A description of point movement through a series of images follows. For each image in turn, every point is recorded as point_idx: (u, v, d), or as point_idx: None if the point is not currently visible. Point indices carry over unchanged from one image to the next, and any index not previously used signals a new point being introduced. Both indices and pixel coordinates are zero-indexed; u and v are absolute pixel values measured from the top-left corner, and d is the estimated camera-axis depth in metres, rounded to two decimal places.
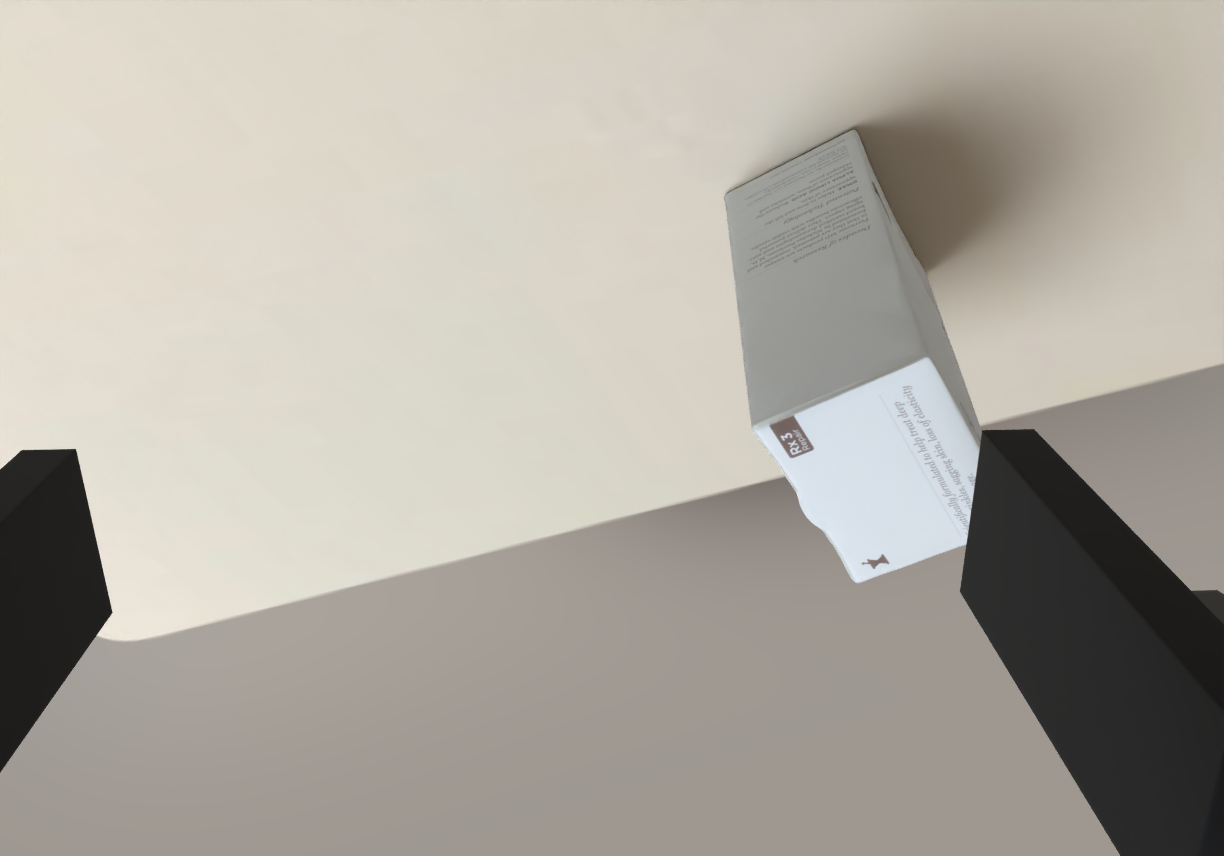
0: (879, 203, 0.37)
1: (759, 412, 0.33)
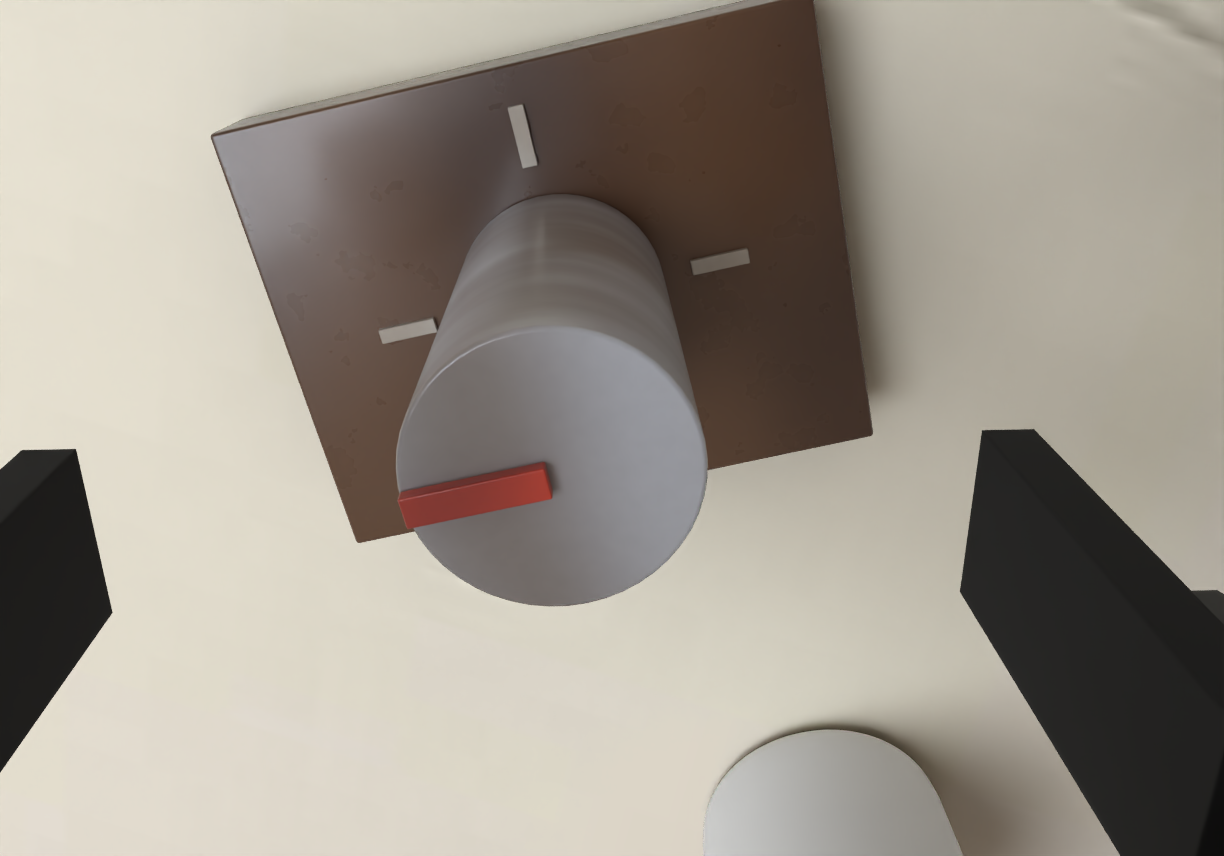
0: None
1: None
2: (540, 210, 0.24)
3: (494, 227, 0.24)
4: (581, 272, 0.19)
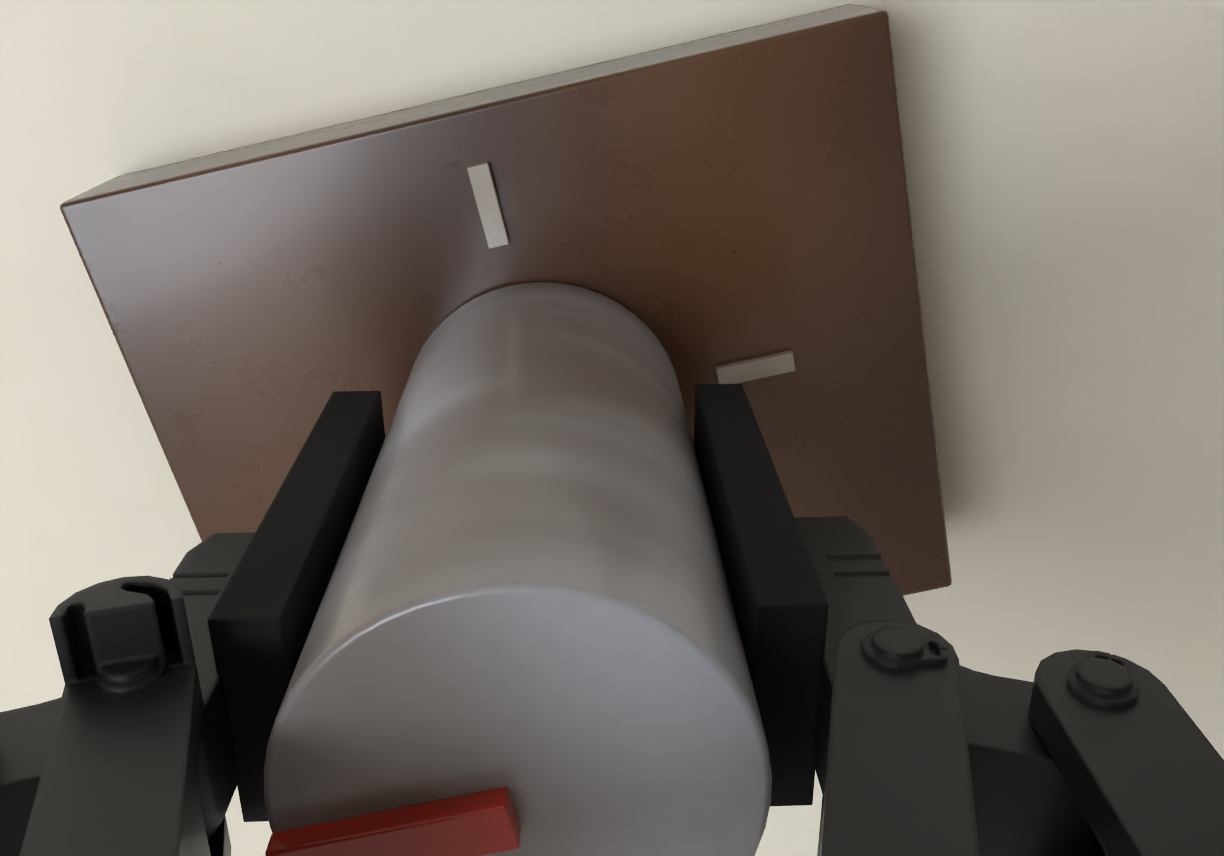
0: None
1: None
2: (511, 312, 0.17)
3: (448, 333, 0.18)
4: (567, 443, 0.13)
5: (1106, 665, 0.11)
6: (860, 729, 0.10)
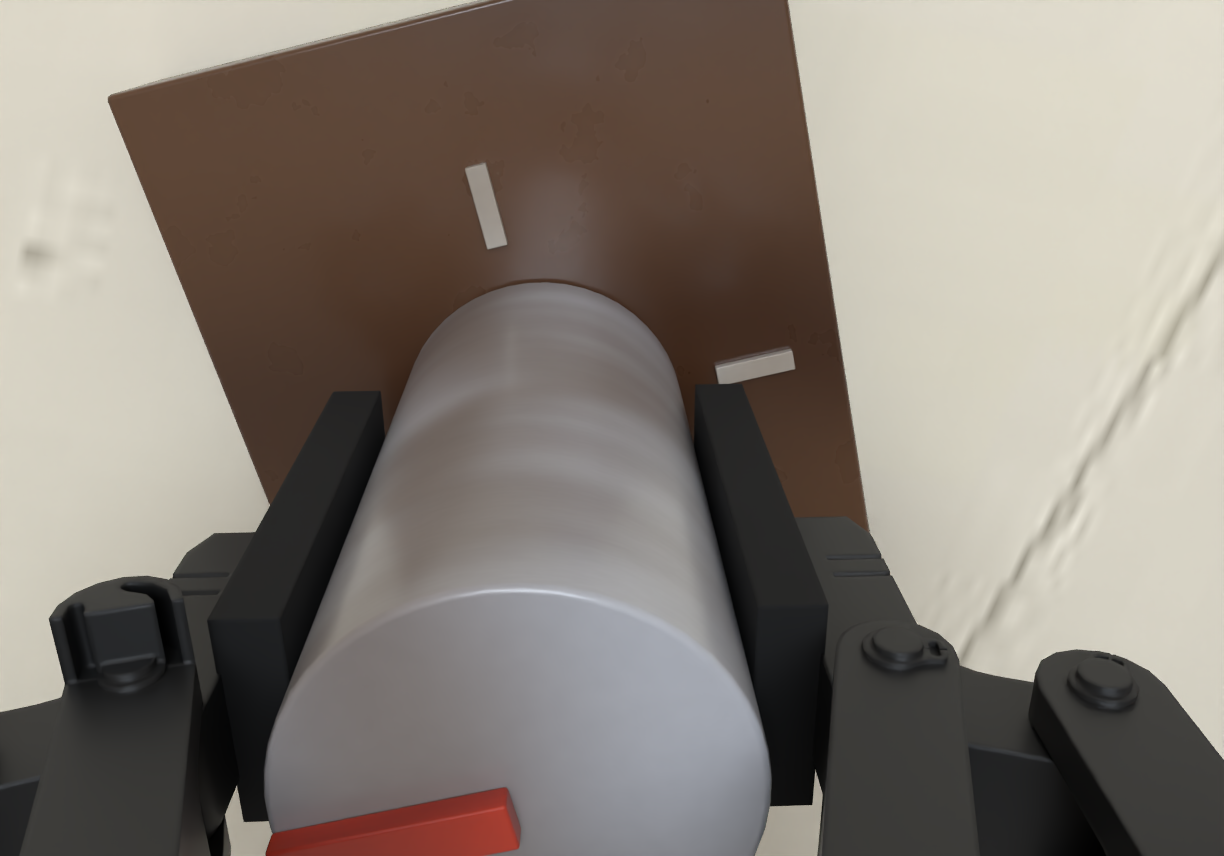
0: None
1: None
2: (511, 312, 0.17)
3: (448, 334, 0.18)
4: (567, 444, 0.13)
5: (1106, 667, 0.11)
6: (860, 729, 0.10)
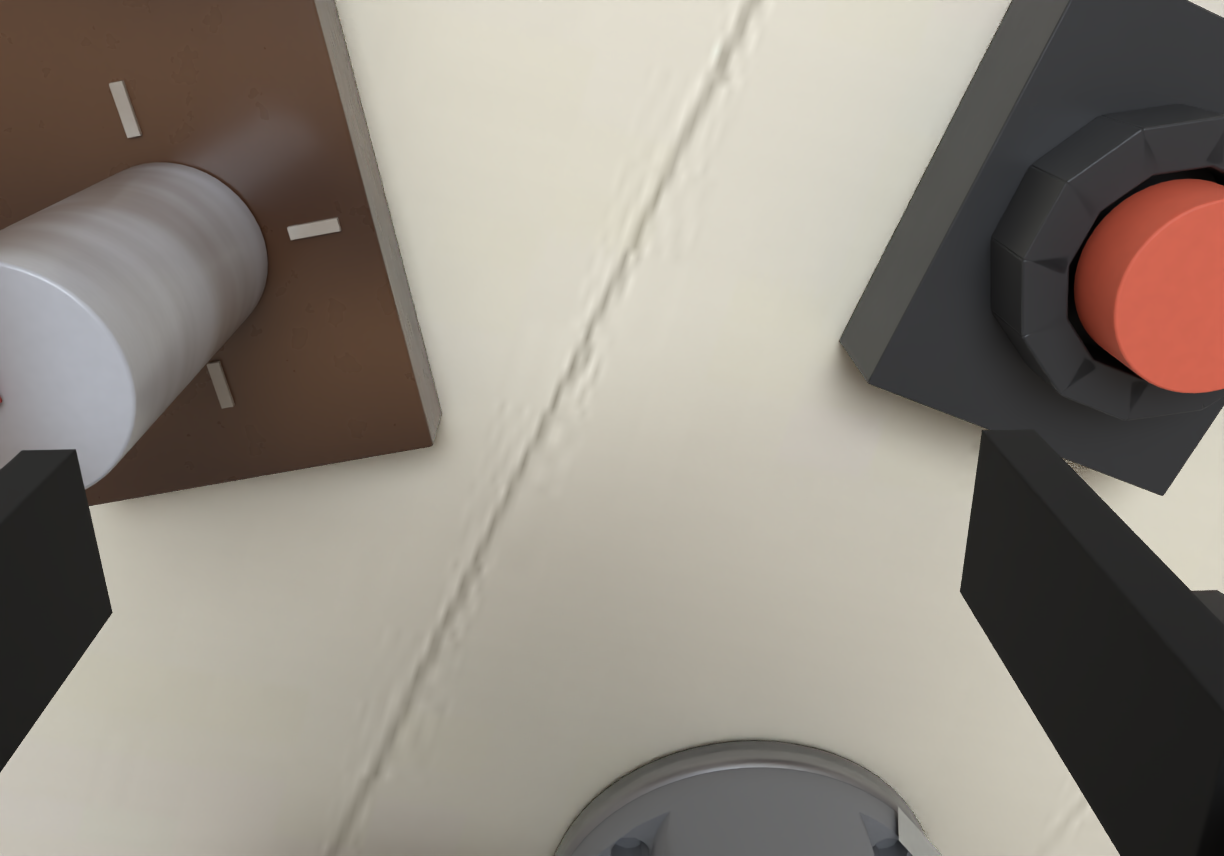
0: None
1: None
2: (125, 174, 0.27)
3: None
4: (78, 223, 0.23)
5: None
6: None
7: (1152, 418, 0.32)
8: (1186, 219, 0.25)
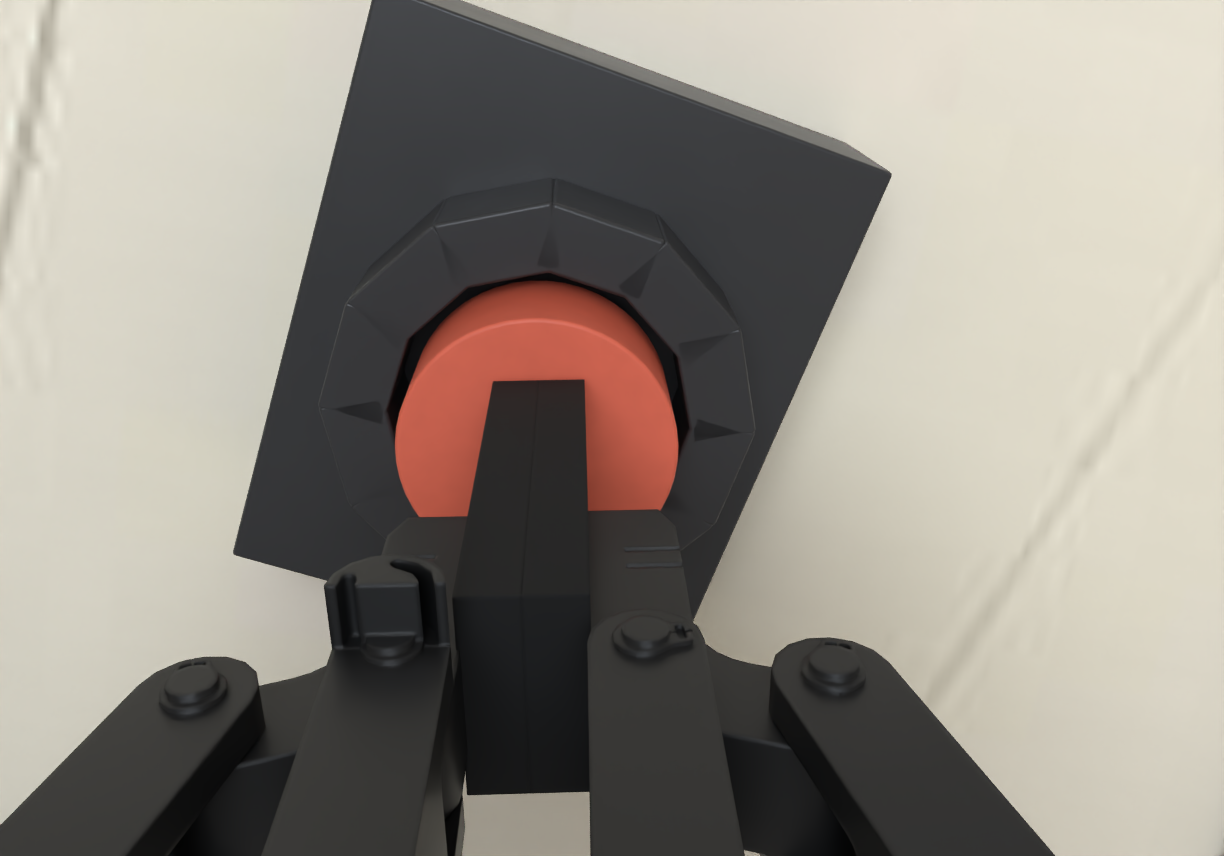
0: None
1: None
2: None
3: None
4: None
5: (835, 652, 0.11)
6: (617, 721, 0.10)
7: None
8: (460, 350, 0.18)
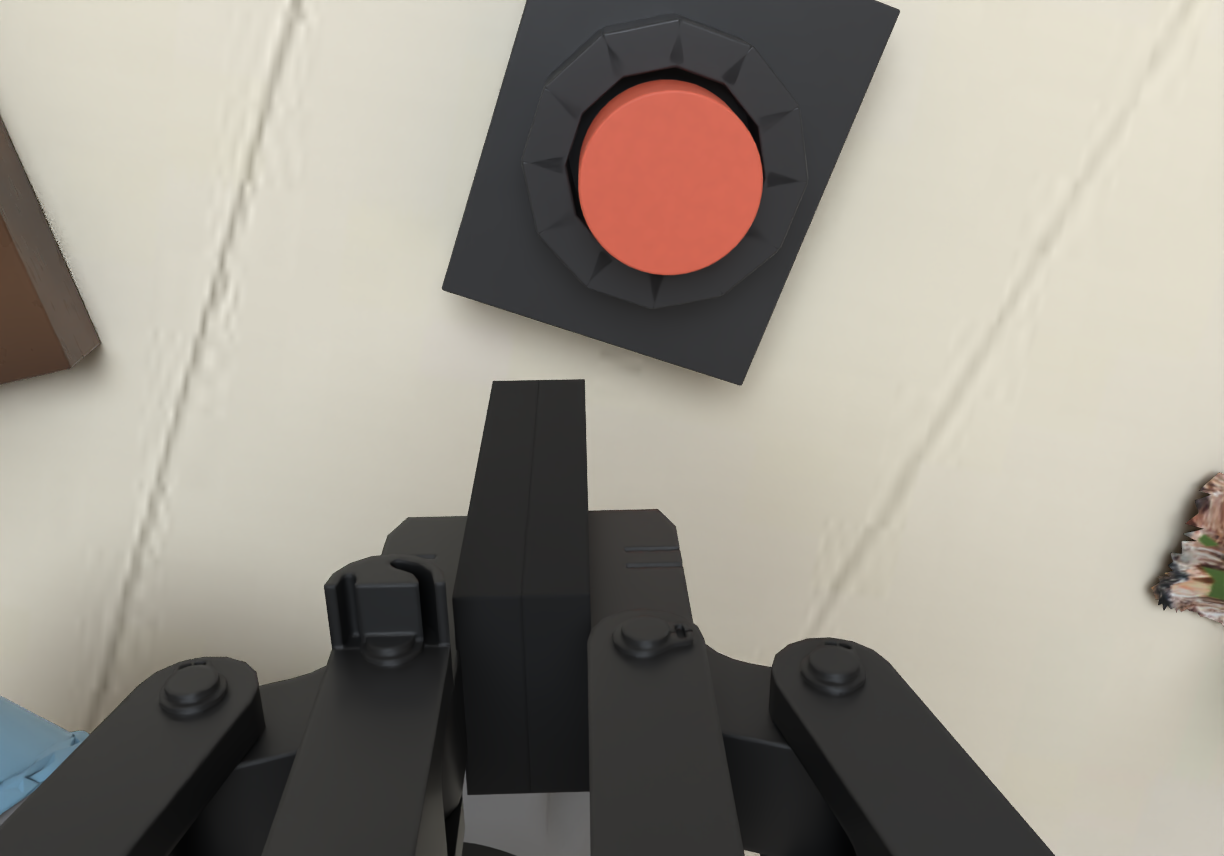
0: None
1: None
2: None
3: None
4: None
5: (836, 652, 0.11)
6: (618, 722, 0.10)
7: (714, 311, 0.34)
8: (624, 112, 0.28)
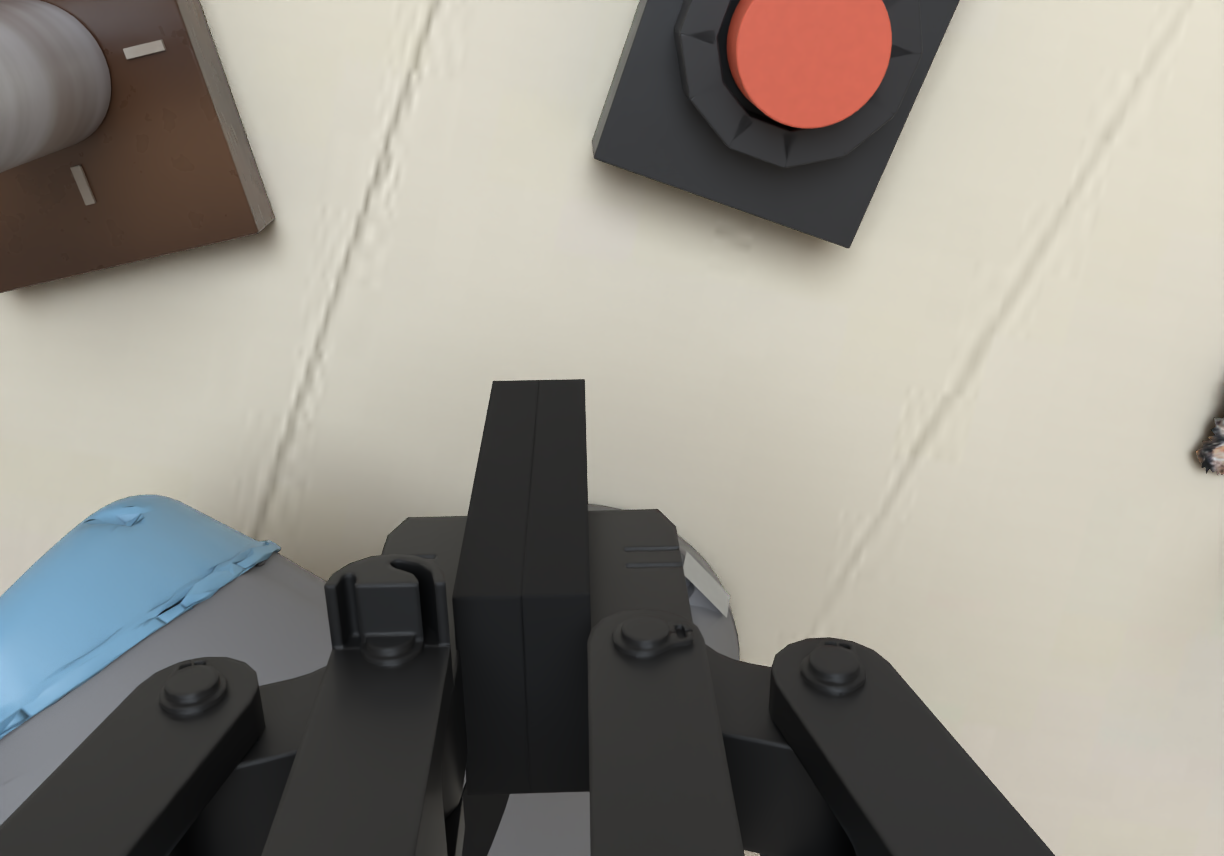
0: None
1: None
2: None
3: None
4: None
5: (836, 652, 0.11)
6: (617, 722, 0.10)
7: (828, 180, 0.39)
8: None
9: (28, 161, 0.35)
